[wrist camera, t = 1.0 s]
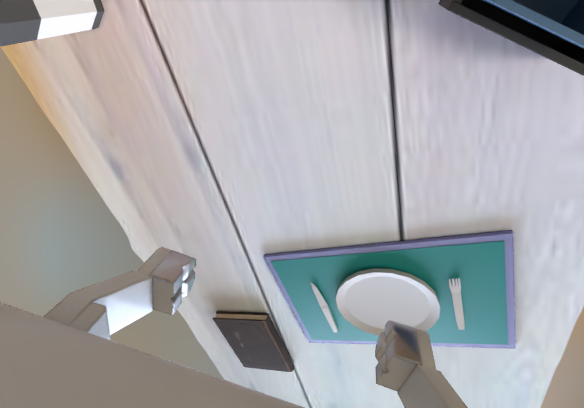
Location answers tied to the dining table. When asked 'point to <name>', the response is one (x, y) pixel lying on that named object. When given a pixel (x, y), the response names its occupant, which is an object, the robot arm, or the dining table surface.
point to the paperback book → (254, 340)
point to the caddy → (548, 16)
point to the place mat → (404, 290)
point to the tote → (519, 32)
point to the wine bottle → (46, 18)
